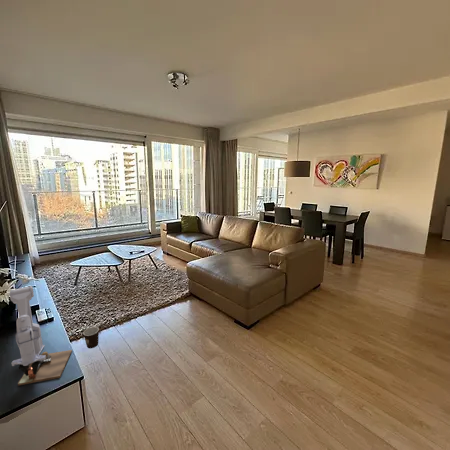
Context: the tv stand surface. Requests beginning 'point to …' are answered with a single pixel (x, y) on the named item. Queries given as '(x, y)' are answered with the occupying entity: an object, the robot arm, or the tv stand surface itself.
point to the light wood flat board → (49, 367)
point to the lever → (30, 370)
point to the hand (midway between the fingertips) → (31, 373)
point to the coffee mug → (91, 336)
